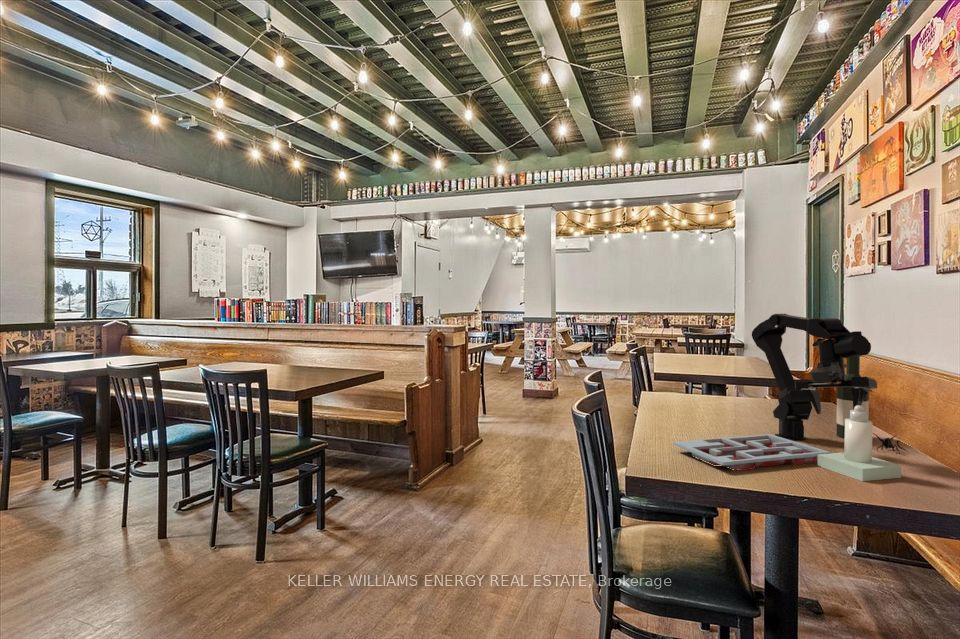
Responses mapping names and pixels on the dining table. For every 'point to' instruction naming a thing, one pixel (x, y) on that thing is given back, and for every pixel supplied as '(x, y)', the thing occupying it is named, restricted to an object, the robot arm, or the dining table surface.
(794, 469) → the dining table surface
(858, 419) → the pepper mill
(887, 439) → the creature
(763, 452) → the maze game
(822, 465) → the plinth
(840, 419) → the wine bottle
